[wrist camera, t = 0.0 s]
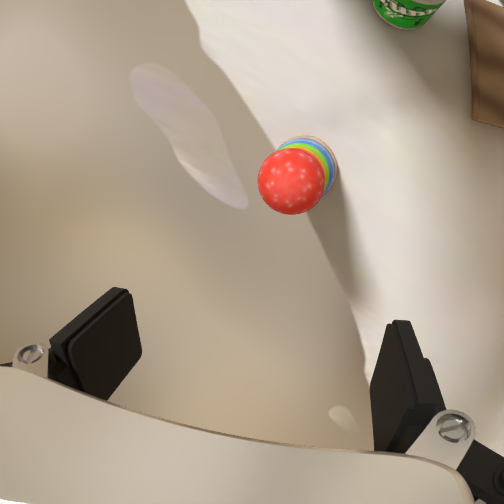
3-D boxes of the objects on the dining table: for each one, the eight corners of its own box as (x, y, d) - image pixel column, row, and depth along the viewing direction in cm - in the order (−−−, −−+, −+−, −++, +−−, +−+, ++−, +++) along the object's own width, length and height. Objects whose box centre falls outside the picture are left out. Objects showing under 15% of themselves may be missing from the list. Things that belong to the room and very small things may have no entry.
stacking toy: (347, 154, 38) (370, 168, 20) (318, 209, 41) (314, 265, 23) (290, 124, 38) (265, 114, 21) (262, 180, 41) (217, 215, 24)
